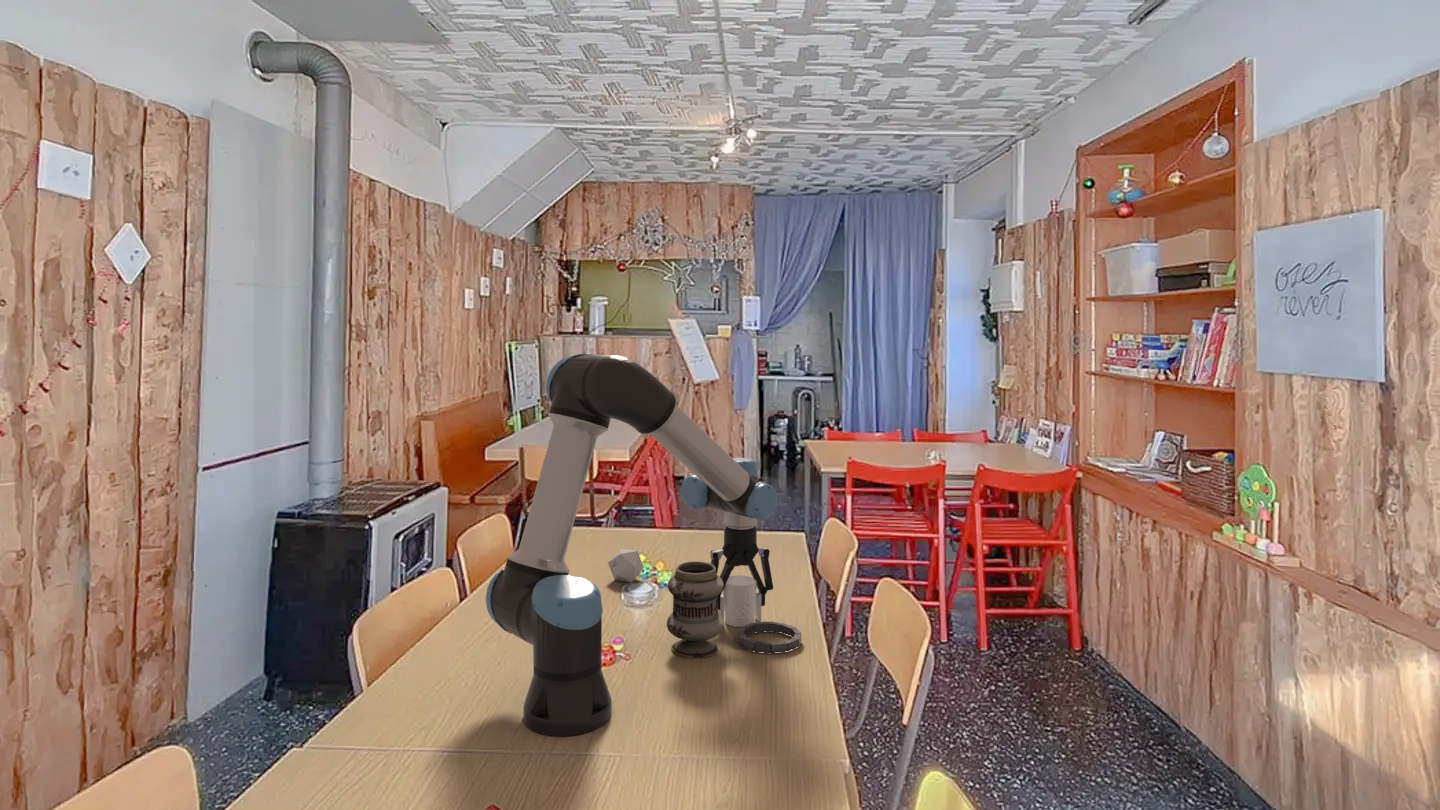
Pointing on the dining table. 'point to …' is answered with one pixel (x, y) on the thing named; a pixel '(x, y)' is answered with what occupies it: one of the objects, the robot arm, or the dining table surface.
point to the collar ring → (767, 646)
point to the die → (625, 565)
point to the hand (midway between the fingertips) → (739, 621)
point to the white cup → (739, 600)
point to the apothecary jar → (695, 609)
